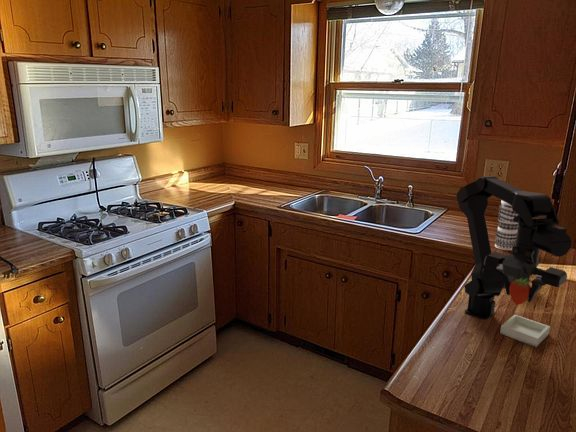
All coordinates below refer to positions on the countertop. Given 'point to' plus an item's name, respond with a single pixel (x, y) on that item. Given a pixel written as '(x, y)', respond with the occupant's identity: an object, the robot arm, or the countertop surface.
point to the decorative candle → (506, 227)
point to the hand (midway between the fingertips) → (518, 298)
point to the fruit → (519, 290)
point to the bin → (525, 330)
